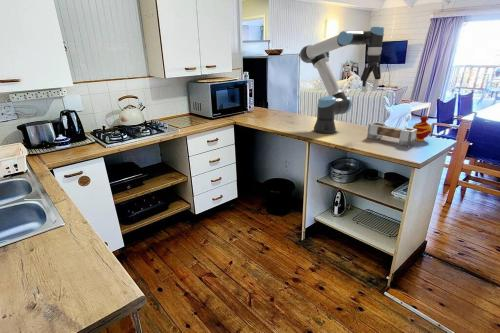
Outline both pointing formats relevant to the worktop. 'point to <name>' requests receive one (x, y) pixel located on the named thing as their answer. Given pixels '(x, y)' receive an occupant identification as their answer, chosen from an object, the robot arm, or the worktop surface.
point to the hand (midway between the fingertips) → (369, 90)
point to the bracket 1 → (374, 130)
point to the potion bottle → (422, 129)
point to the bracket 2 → (408, 137)
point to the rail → (389, 131)
